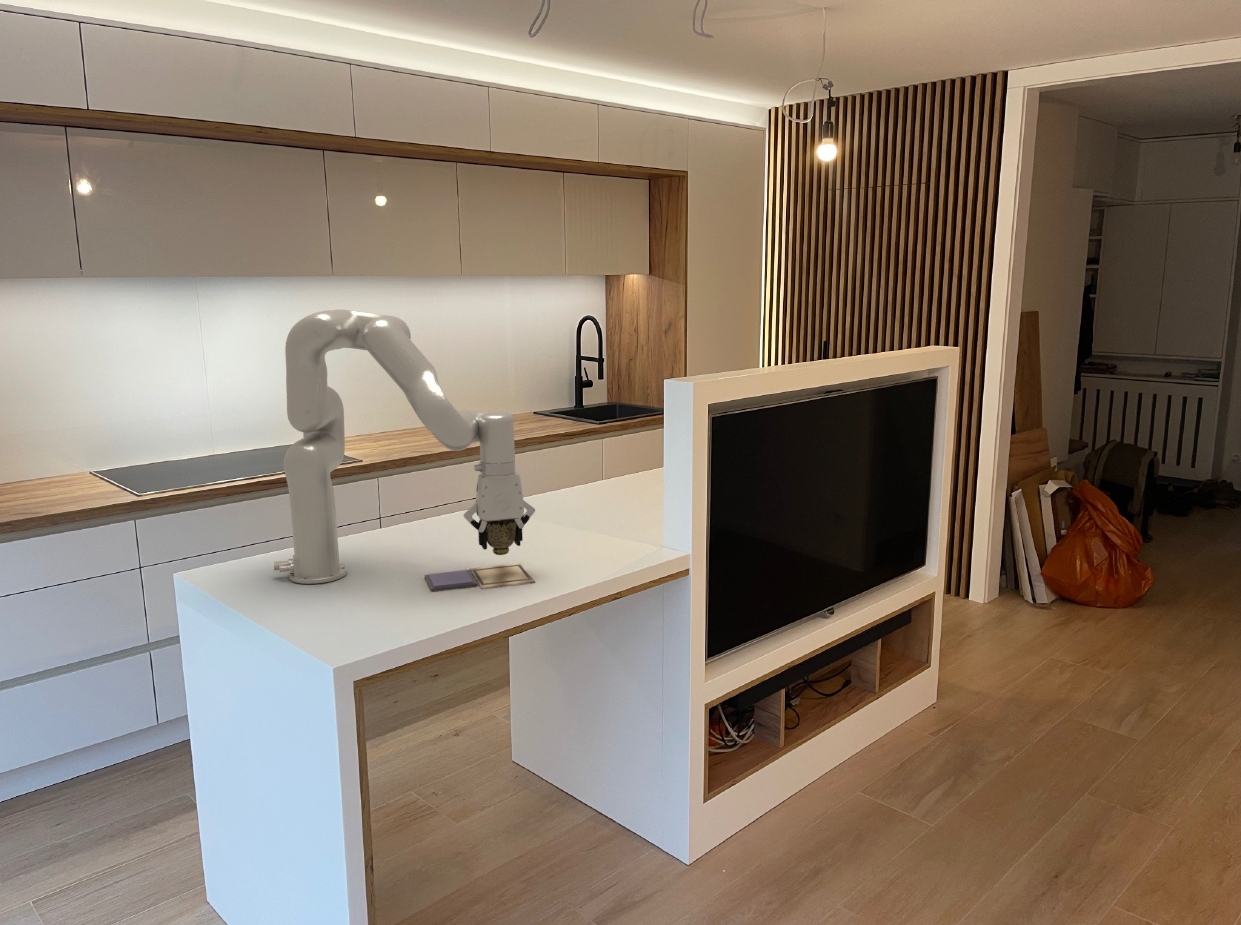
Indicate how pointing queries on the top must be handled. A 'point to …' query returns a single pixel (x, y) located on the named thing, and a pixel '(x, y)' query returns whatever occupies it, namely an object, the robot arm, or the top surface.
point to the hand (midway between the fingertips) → (500, 545)
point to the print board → (501, 575)
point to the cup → (501, 535)
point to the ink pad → (450, 580)
